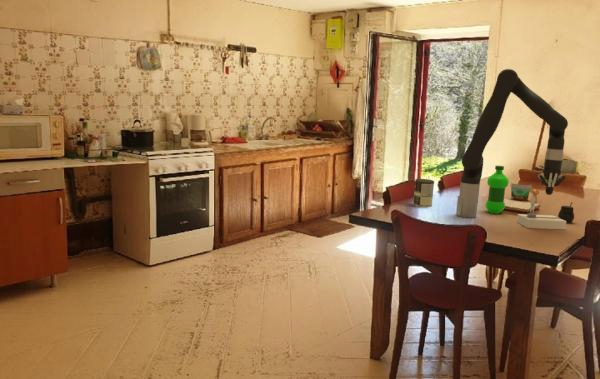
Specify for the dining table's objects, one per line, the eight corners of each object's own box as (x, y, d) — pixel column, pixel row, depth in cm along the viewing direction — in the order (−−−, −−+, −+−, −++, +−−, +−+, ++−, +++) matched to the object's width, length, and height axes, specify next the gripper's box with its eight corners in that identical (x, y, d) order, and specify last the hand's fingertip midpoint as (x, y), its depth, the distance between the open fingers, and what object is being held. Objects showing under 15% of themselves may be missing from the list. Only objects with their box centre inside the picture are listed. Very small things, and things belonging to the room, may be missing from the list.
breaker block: (527, 227, 244) (528, 219, 244) (516, 221, 256) (517, 213, 256) (565, 229, 245) (566, 221, 244) (552, 223, 257) (553, 215, 256)
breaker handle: (530, 217, 247) (533, 190, 245) (526, 215, 252) (529, 188, 249) (536, 217, 248) (540, 190, 245) (532, 215, 252) (535, 188, 250)
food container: (510, 200, 314) (512, 184, 313) (508, 198, 320) (510, 182, 319) (531, 202, 312) (533, 186, 310) (529, 200, 318) (532, 184, 316)
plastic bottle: (506, 212, 279) (511, 166, 274) (502, 215, 270) (508, 168, 266) (486, 209, 284) (491, 164, 279) (482, 212, 275) (487, 166, 270)
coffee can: (410, 205, 285) (412, 180, 283) (416, 202, 294) (418, 178, 291) (428, 208, 280) (431, 182, 277) (434, 205, 289) (436, 180, 286)
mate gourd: (555, 221, 262) (557, 202, 260) (560, 219, 267) (563, 200, 265) (570, 224, 257) (573, 204, 255) (575, 222, 262) (578, 203, 260)
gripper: (563, 158, 249) (558, 193, 252) (536, 156, 248) (531, 192, 251) (571, 160, 241) (566, 196, 244) (543, 158, 241) (538, 195, 244)
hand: (548, 194), depth 248 cm, fingers closed
